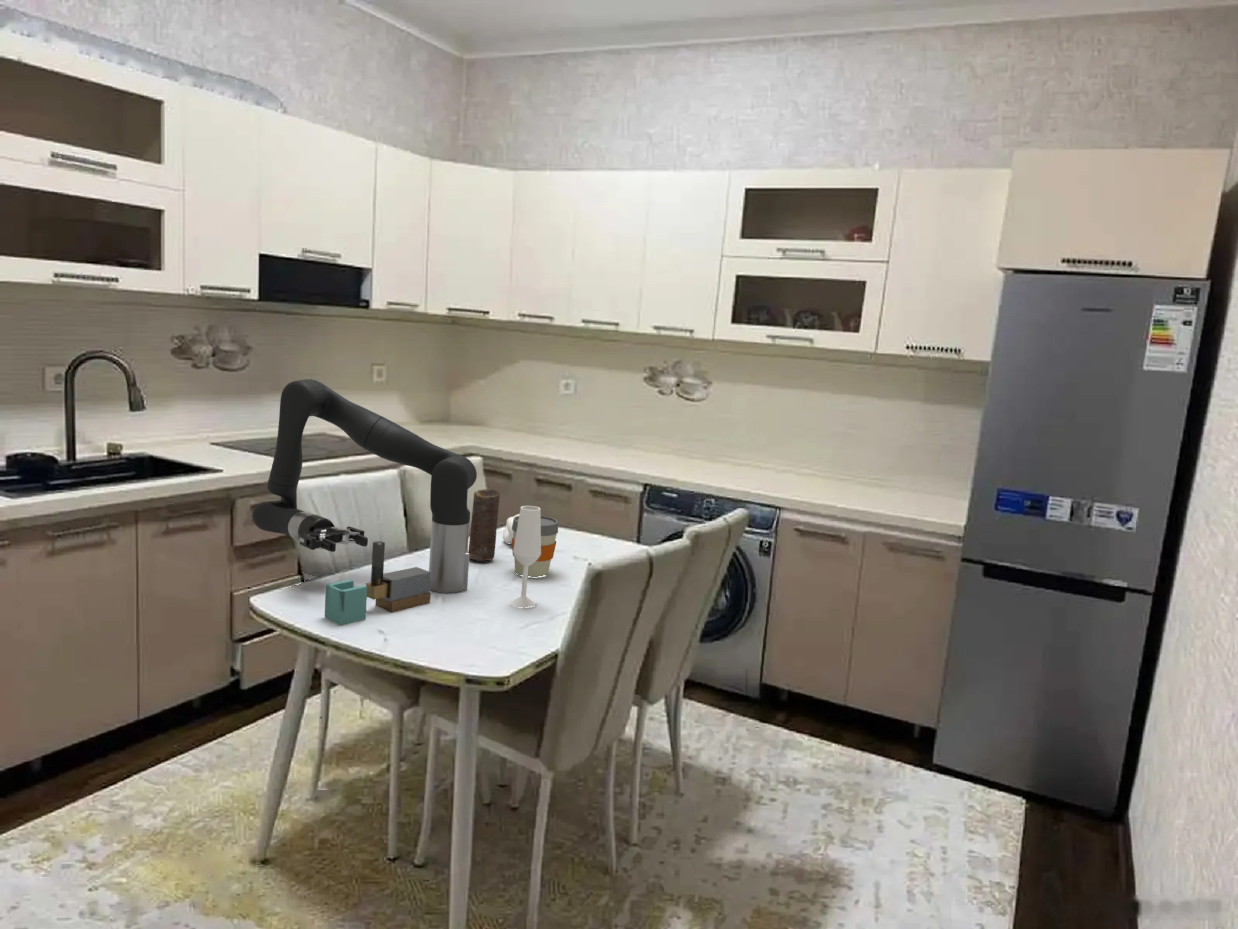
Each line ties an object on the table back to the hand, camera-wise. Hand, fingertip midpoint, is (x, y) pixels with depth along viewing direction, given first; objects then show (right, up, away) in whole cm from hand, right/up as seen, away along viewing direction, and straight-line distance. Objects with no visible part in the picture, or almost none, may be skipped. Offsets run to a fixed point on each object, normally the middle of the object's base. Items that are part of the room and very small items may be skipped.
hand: (350, 544), depth 198 cm
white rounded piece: (+32, -6, +62) cm, 70 cm away
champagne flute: (+39, -16, +10) cm, 43 cm away
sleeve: (+12, -14, +2) cm, 18 cm away
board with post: (+10, -11, -1) cm, 15 cm away
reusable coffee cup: (+38, -11, +35) cm, 53 cm away
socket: (+2, -15, -10) cm, 18 cm away
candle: (+23, -9, +43) cm, 50 cm away
